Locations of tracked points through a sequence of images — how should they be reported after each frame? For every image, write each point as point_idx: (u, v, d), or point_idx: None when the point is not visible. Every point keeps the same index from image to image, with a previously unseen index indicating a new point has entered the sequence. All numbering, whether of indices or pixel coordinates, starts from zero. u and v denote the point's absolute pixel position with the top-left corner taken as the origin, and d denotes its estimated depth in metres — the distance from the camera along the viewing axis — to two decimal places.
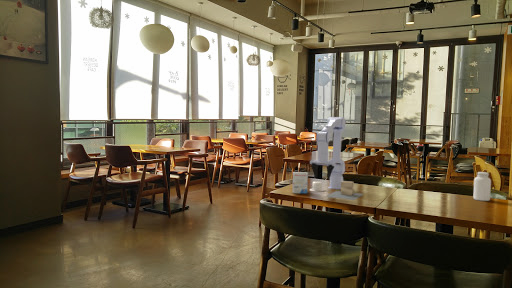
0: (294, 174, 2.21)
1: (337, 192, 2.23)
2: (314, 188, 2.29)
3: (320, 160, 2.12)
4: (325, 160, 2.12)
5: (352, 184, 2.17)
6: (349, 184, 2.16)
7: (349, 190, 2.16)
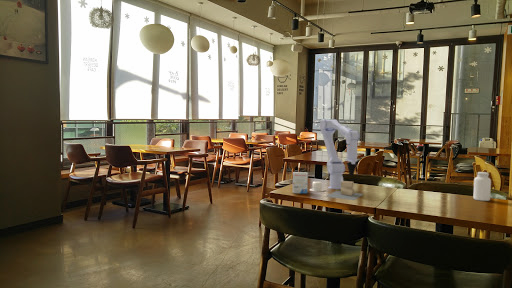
0: (294, 174, 2.21)
1: (337, 192, 2.23)
2: (314, 188, 2.29)
3: None
4: (349, 158, 2.21)
5: (352, 184, 2.17)
6: (349, 184, 2.16)
7: (349, 190, 2.16)
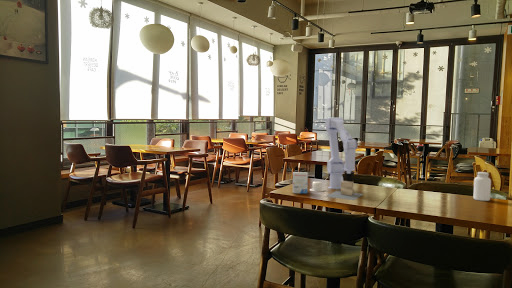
0: (294, 174, 2.21)
1: (337, 192, 2.23)
2: (314, 188, 2.29)
3: (344, 167, 2.21)
4: (346, 167, 2.19)
5: (352, 184, 2.17)
6: (349, 184, 2.16)
7: (349, 190, 2.16)
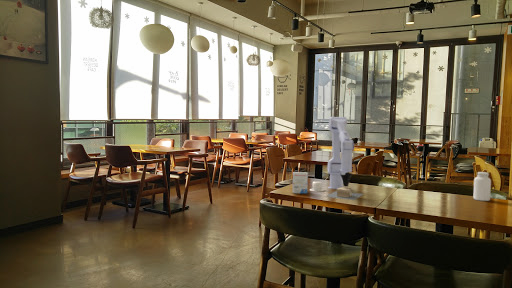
0: (294, 174, 2.21)
1: None
2: (314, 188, 2.29)
3: None
4: (342, 168, 2.14)
5: (348, 193, 2.11)
6: (345, 196, 2.11)
7: None
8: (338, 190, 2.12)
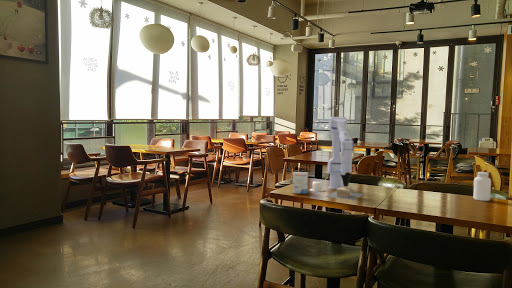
0: (294, 174, 2.21)
1: None
2: (314, 188, 2.29)
3: None
4: (342, 168, 2.14)
5: (348, 193, 2.11)
6: (345, 196, 2.11)
7: None
8: (338, 190, 2.12)
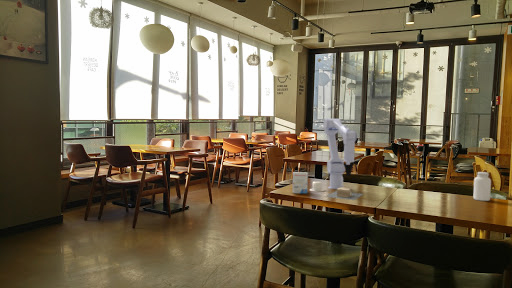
0: (294, 174, 2.21)
1: None
2: (314, 188, 2.29)
3: None
4: (346, 158, 2.19)
5: (348, 193, 2.11)
6: (345, 196, 2.11)
7: None
8: (338, 190, 2.12)
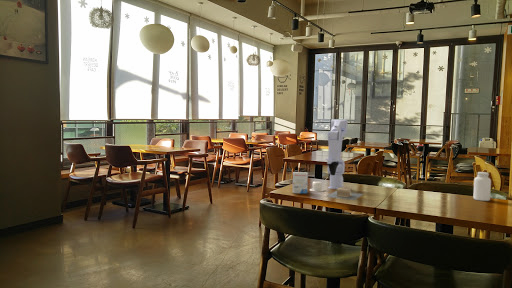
0: (294, 174, 2.21)
1: None
2: (314, 188, 2.29)
3: None
4: (329, 157, 2.22)
5: (348, 193, 2.11)
6: (345, 196, 2.11)
7: None
8: (338, 190, 2.12)
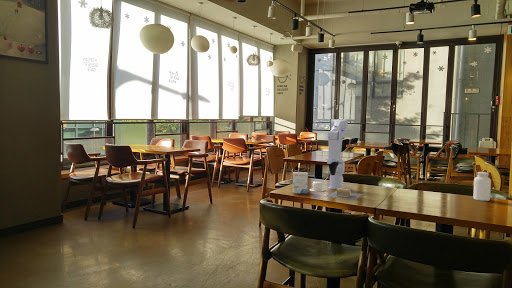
0: (294, 174, 2.21)
1: None
2: (314, 188, 2.29)
3: None
4: (329, 157, 2.22)
5: (348, 193, 2.11)
6: (345, 196, 2.11)
7: None
8: (338, 190, 2.12)
